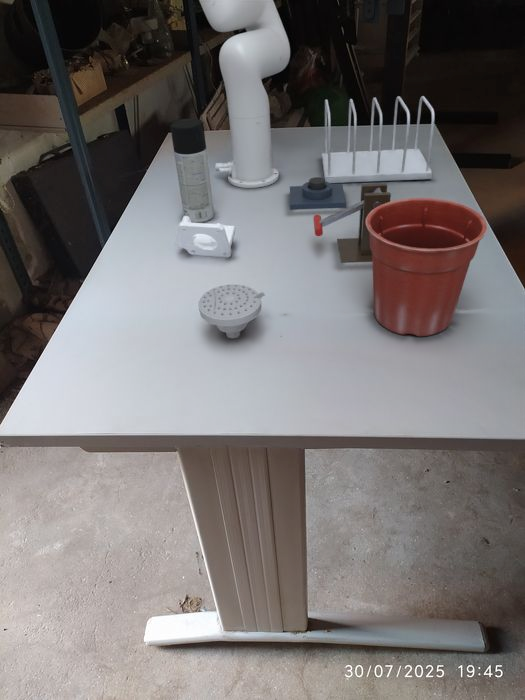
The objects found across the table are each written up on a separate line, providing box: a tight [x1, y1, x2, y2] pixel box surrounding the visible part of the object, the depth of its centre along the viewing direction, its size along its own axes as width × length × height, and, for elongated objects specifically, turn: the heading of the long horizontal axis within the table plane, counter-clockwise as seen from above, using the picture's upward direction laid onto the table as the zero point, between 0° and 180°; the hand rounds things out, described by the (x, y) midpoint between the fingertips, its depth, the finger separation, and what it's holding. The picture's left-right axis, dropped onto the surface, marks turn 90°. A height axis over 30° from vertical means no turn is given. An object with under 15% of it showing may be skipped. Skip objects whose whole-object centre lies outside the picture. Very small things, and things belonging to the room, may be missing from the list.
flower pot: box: [366, 197, 488, 337], centre depth 81 cm, size 16×16×16 cm
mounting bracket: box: [174, 215, 237, 259], centre depth 103 cm, size 12×6×11 cm, turn 76°
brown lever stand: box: [336, 182, 392, 264], centre depth 98 cm, size 12×9×13 cm
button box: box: [289, 181, 347, 211], centre depth 120 cm, size 12×10×4 cm
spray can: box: [170, 118, 215, 223], centre depth 112 cm, size 7×7×20 cm
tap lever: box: [313, 187, 381, 237], centre depth 97 cm, size 13×6×2 cm, turn 88°
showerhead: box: [197, 284, 266, 339], centre depth 82 cm, size 9×7×10 cm
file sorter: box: [321, 95, 435, 184], centre depth 130 cm, size 25×17×16 cm
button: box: [308, 176, 325, 190], centre depth 118 cm, size 4×4×2 cm
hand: (383, 18), depth 95 cm, fingers open, 9 cm apart
